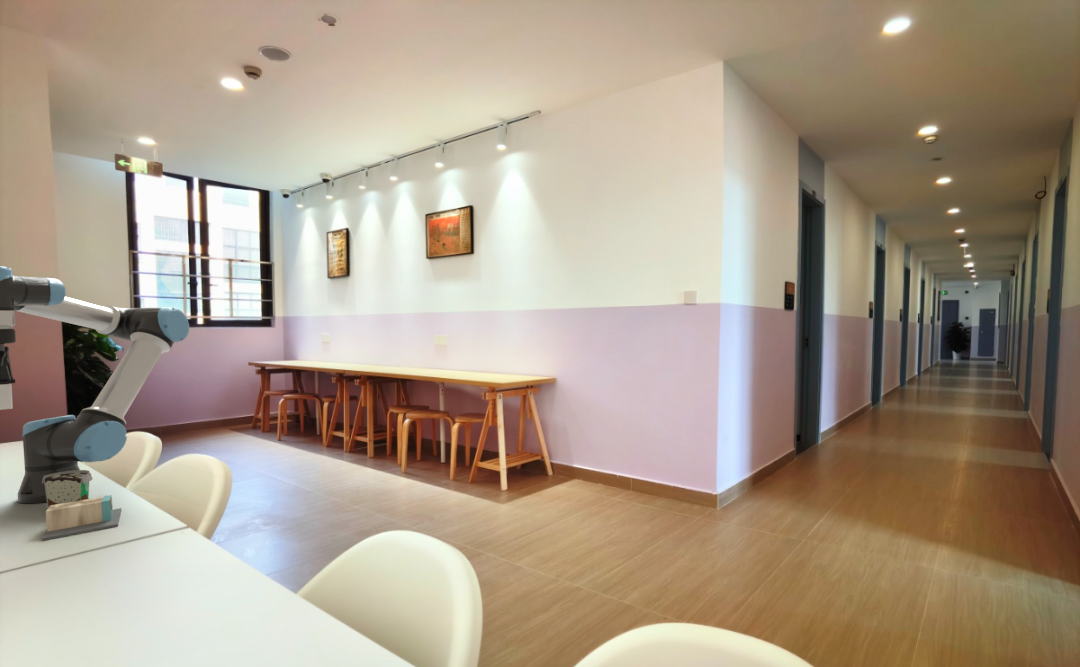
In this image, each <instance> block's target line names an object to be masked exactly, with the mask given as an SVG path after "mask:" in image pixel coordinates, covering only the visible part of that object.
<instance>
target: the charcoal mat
mask: <svg viewBox="0 0 1080 667" xmlns="http://www.w3.org/2000/svg"><path fill="white" fill-rule="evenodd" d="M112 509H113V508H112ZM121 513H122V508H121V507H120V508H115V509H113V515H112V518H111V520H110V521H104V522H97V523H92V524H87V525H81V526H76V527H70V528H65V529H59V530H54V531H49V532H47V528H46V530H45V531H44V533H43V535H42V537H41V538H40V539H41V541H42V542H43V541H47V540H53V539H58V538H63V537H68V536H72V535H74V536H75V535H79V534H80V535H81V534H85V533H91V532H95V531H99V530H105V529H110V528H115V527H119V522H120V519H121V518H120V517H121Z"/></svg>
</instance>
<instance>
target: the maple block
mask: <svg viewBox="0 0 1080 667" xmlns="http://www.w3.org/2000/svg"><path fill="white" fill-rule="evenodd" d="M112 515H113V495H111V494H110V495H104V496H98V497H94V498H88V499H87V500H80V501H74V502H68V503H62V504H56V505H50V506H49V508H48V507H47V509H46V511H45V520H46V529H47V532H49V531H54V530H59V529H65V528H70V527H76V526H81V525H87V524H92V523H97V522H104V521H110V520H111V518H112Z"/></svg>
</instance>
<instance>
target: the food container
mask: <svg viewBox="0 0 1080 667" xmlns="http://www.w3.org/2000/svg"><path fill="white" fill-rule="evenodd" d="M92 480H93V476H92V473H91V472H90V470H87V469H80V470H73V471H65V472H59V473H53V474H49V475H45V476H43V480H42V484H43V483H44V485H45V492H46V499H47V502H46V506H47V509H48V508H49V506H50V505H56V504H62V503H68V502H74V501H80V500H87V499H89V495H90V494H89V493H90V482H91V481H92Z"/></svg>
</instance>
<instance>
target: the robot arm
mask: <svg viewBox="0 0 1080 667" xmlns="http://www.w3.org/2000/svg"><path fill="white" fill-rule="evenodd" d="M66 290H67V289H66V286H65V285H64V283H63V282H62V281H61V280H60V279H58V278H54V277H53V278H52V277H51V278H50V277H48V276H43V277H41V276H39V277H38V276H19V275H14V273H13V270H12V268H11V267H8V266H4V265H3V266H2V265H0V411H2V410H10V409H11V410H12V409H13V392H12V391H13V389H12V388H13V386H12V384H16V379H15V378H14V377H13V376H14V375H13V372H12V370H13V369H12V365H11V360H10V355H9V354H10V353H9V352H10V351H9V349H10V348H9V346H8V345H7V344H14V343H16V342H17V340H16V339H17V338H16V329H14V328H13V327H16V315H15V312H19V313H23V314H28V315H32V316H36V317H41V318H45V319H50V320H54V321H58V322H63V323H65V324H66V323H68V324H72V325H76V326H81V327H84V328H89V329H94V330H95V331H96V332H97V333H98V334H101V335H106V336H110V337H113V338H117V339H122V340H125V341H130V342H132V343H131V344H130V346H129V347H128V349H127V350H126V352H125V353H124V355H123V357H121V360H120V361H119V362H118V364H117V366H116V368H114V371H113V372H112V374H111V376H110V377H109V379H108V380H107V381H106V384H105V385H104V386H103V388H102V389H101V391H100V392H99V393H98V396H97V397H96V398H95V399H94V401H93V403H92V405H91V406H90V407H89V406H88V407H86V408H83V409H82V410H81V411H80V412H79V414H78V415H77V417H76V415H74V414H68V415H62V416H56V417H55V416H54V417H49V418H42V419H38V420H33V421H32V420H31V421H28V422H26V423H25V424H23V426H22V434H21V438H22V446H23V462H24V475H23V478H22V480H21V484H20V486H19V489H18V492H17V502H18V503H19V504H38V503H47V499H46V492H45V485H44V483H43V484H42V480H43V476H45V475H49V474H53V473H59V472H65V471H73V470H81V469H80V466H79V463H80V462H82V463H83V462H84V463H94V462H95V463H96V462H104V461H105V462H106V461H107V460H111V459H112V458H114V457H115V456H117V455H118V454H119V453H120V452H121V451H122V450H123V448H124V447H125V445H126V442H127V439H128V437H127V434H128V433H127V429H126V425H127V421H126V419H125V416H126V414H127V412H128V411H129V409H130V408H131V405H132V404H133V402H134V401H135V399H136V398H137V395H138V394H139V393H140V390H141V389H142V387H143V386H144V384H145V382H146V380H147V379H148V377H149V375H150V374H151V372H152V370H153V369H154V367H155V366H156V364H157V362H158V360H159V358H160V357H161V355H162V354H164V353H165V354H166V353H169V351H170V350H171V348H172V347H173V345H174V344H175V343H179V342H182V341H184V340H185V339H186V338H187V337H188V335H189V333H190V323H189V319H188V317H187V316H186V314H185V313H184V312H183V311H182V310H181V309H179V308H177V307H171V306H169V307H168V306H161V307H134V308H133V307H131V308H130V307H127V308H126V307H116V306H113V305H106V306H101V305H98V304H94V303H90V302H87V301H83V300H80V299H75V298H73V297H68V296H66V295H67V291H66ZM5 344H6V346H5ZM78 462H79V463H78Z"/></svg>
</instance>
